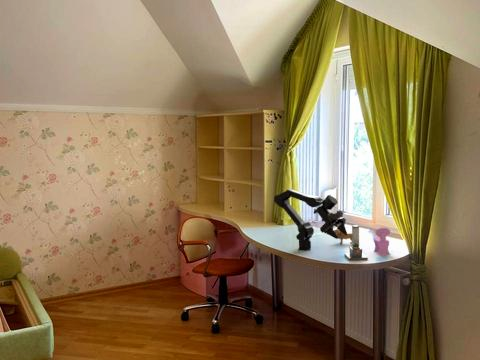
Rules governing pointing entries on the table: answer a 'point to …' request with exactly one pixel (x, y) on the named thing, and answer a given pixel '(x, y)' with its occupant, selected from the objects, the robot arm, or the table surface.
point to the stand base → (355, 255)
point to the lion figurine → (343, 236)
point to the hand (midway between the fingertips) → (342, 236)
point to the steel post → (355, 237)
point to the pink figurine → (382, 241)
